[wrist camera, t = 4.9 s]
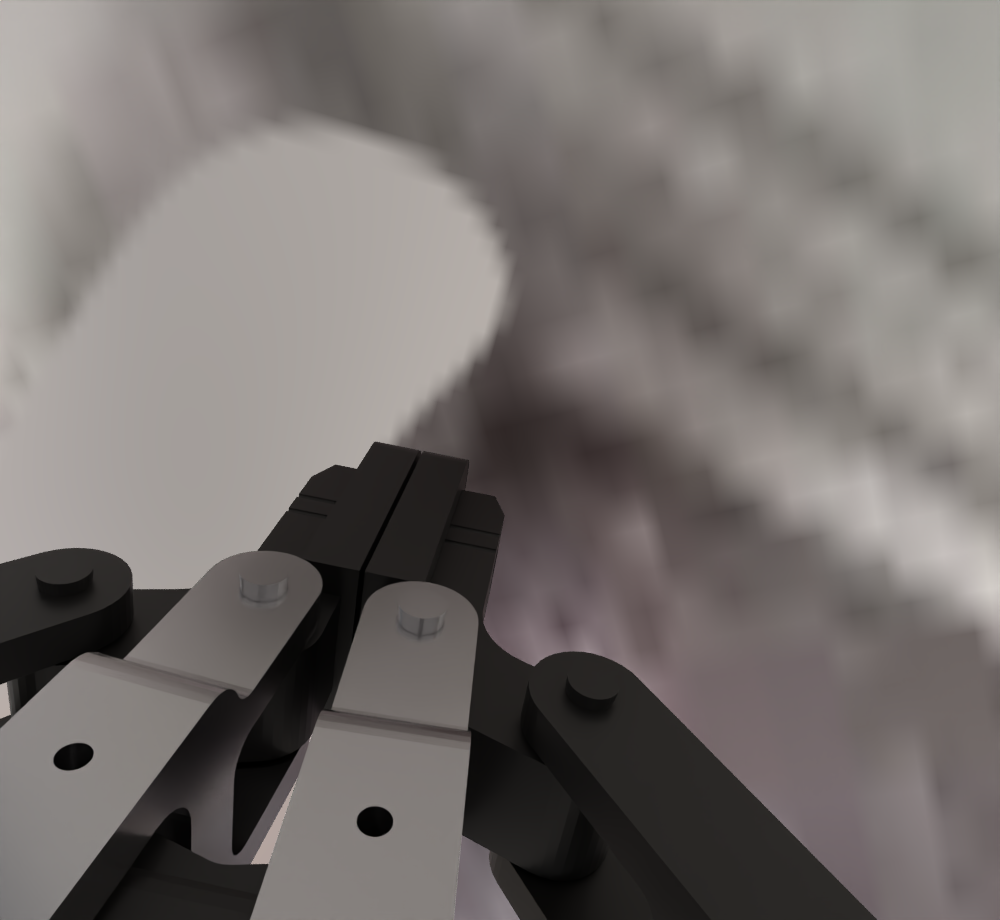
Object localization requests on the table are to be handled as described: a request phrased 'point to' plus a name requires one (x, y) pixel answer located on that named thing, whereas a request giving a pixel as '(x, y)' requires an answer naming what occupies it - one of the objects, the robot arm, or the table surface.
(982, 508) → the table surface
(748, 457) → the table surface
